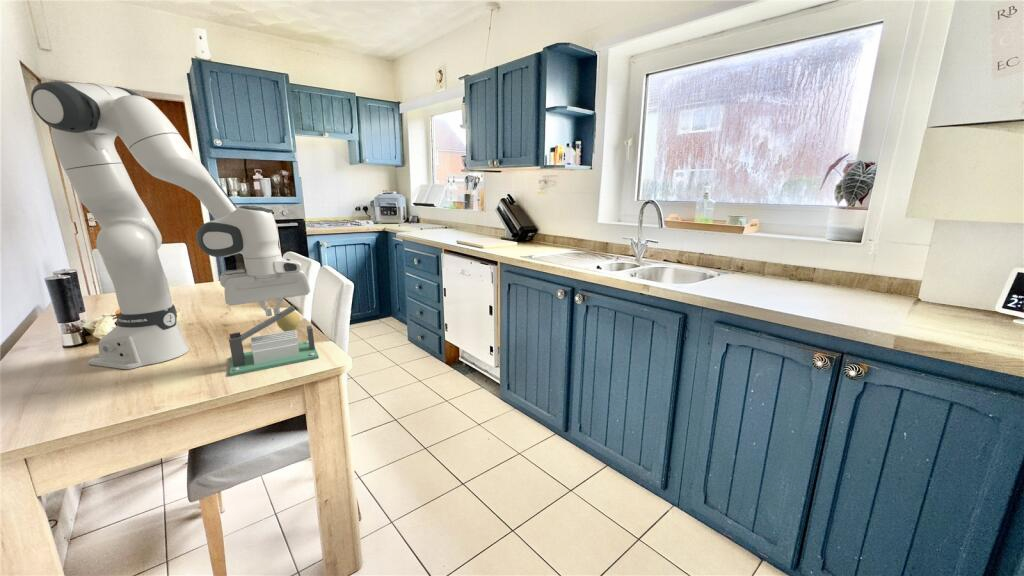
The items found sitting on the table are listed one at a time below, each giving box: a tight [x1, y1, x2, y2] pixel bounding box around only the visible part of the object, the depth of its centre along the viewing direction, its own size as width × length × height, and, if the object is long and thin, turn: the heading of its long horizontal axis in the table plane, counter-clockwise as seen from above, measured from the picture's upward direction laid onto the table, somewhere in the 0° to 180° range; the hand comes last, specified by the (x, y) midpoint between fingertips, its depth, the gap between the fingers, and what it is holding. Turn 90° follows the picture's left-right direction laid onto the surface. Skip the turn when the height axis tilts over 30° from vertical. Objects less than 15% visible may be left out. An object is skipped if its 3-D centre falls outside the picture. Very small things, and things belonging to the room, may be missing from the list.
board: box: [228, 325, 320, 377], centre depth 114 cm, size 21×14×8 cm, turn 123°
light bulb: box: [276, 311, 301, 340], centre depth 127 cm, size 6×6×10 cm
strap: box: [237, 305, 296, 342], centre depth 112 cm, size 17×3×1 cm, turn 122°
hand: (273, 314), depth 112 cm, fingers closed
